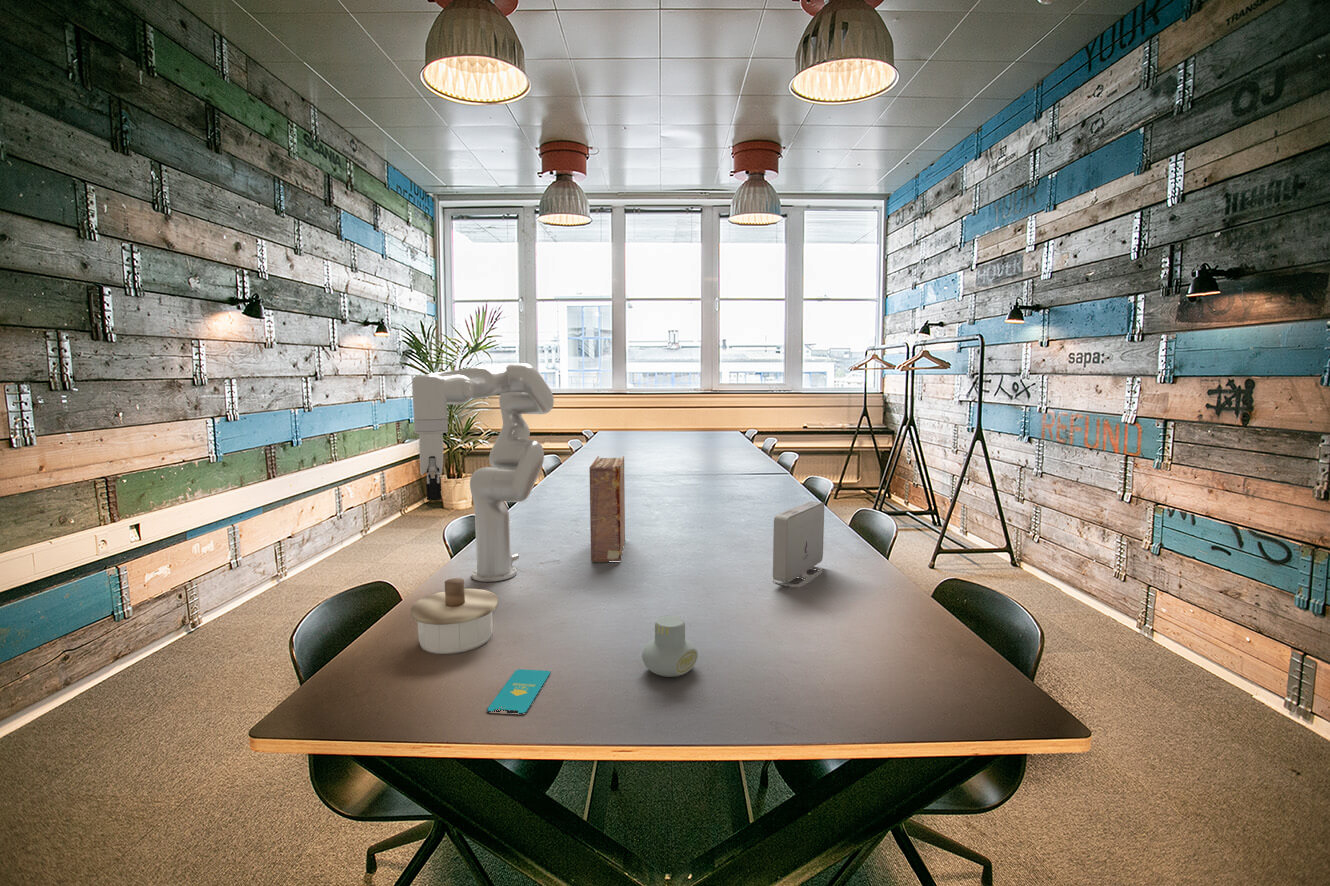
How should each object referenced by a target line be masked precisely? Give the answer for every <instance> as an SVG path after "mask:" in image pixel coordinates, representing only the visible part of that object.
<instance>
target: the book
mask: <svg viewBox="0 0 1330 886" xmlns="http://www.w3.org/2000/svg"><path fill="white" fill-rule="evenodd" d="M625 486H626V485H625V456H624V455H623V456H622V457H600V456H598V455H597V457H596V458H595V460H594V461H593V462H592V463H591V465H590V466H589V510H590V511H589V513H590V514H589V516H590V517H589V522H590V523H589V524H590V563H591V562H609V561H621V562H622V558H621V556H622V557H623V553H622V551H624V548H623V546H624V547H625V544H624V541H625V542H626V513H625V512H626V508H625V507H626V504H625V501H626V499H625V498H626V497H625V495H626V494H625Z"/></svg>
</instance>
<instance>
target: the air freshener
mask: <svg viewBox="0 0 1330 886" xmlns="http://www.w3.org/2000/svg"><path fill="white" fill-rule="evenodd" d="M698 657H699V653H698V650H697V648H696V646H695V644H693V643H692V642H691V641H690V640H689V639H687V638H686V622H685V620H684V619H683V618H681V617H680V616H676V615H666V616H665V615H664V616H661V617H659V618H657V619H656V620H655V622H654V638H653V639H651V640H650V641H649V642H648V643H646V645H645V647H644V648H643V649H642V653H641V659H642V662H643V665H644V666H645V667H646V669H647V670H649V671H650V672H652V673H653V674H655V675H658V676H661V677H667V678H674V677H676V678H677V677H680V675H681V676H682V675H685V674H688V672H690V671H691V670H692V669H693V667H695V665H696V663H697V661H698Z"/></svg>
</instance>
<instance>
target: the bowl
mask: <svg viewBox="0 0 1330 886" xmlns="http://www.w3.org/2000/svg"><path fill="white" fill-rule="evenodd" d="M493 629H494V628H493V611H492V612H491V613H489V614H487V615H485V616H483V617H481V618H478V619H475V620H472V621H467V622H463V623H457V624H447V625H433V624H425V623H421V622H418V621H417V637H418V642H419V646H420V648H421V649H422V651H425V652H426V653H430V654H435V655H451V654H452V655H453V654H460V653H465V652H469V651H472V650H475V649H477V648H479V647H482V646H483V645H485V644H486V643H488V642H489V640H491V638H492V636H493Z"/></svg>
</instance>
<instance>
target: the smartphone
mask: <svg viewBox="0 0 1330 886" xmlns="http://www.w3.org/2000/svg"><path fill="white" fill-rule="evenodd" d="M551 672H552V671H550V670H542V669H540V670H539V669H526V668H525V669H523V668H522V669H521V668H519V669H516V670H514V672H513V673H512V674H511V676H510V677H509V679H508V680H507V681H506V683H505V684H504V685H503V687H502V688H501V689H500V691H499V692H498V693H497V694H496V696H495V697H494V699H493V700H492V702H491V703H490V704H489V706H488V707H487V708H486V712H487V711H488V712H491V711H492V712H493V711H494V712H495V710H496V709H497V710H498V709H500V711H501V710H503V711H504V710H505V711H507V713H519V714H523V713H526V712H527V711H528V709H529V707H530V706H531V704H532V703H533V701H534V700H535V698H536V696H537V695H538V696H539V694H540V693H539V692H541V691H542V689H543V688H544V686H545V684H546V683H547V681H548V680H547V678H548V677H549V678H550V676H551V675H550V673H551ZM551 674H552V673H551ZM549 675H550V676H549ZM549 678H548V679H549ZM546 680H547V681H546ZM545 682H546V683H545ZM544 683H545V684H544ZM543 685H544V686H543ZM542 687H543V688H542ZM541 688H542V689H541ZM540 690H541V691H540ZM538 693H539V694H538ZM538 696H537V697H538ZM536 699H537V698H536ZM535 701H536V700H535ZM535 701H534V702H535ZM533 704H534V703H533ZM501 706H502V708H503V709H502V708H501ZM499 707H500V708H499ZM504 707H505V708H504ZM531 707H532V706H531ZM531 707H530V708H531ZM497 710H496V712H500V711H499V710H498V711H497ZM509 710H510V711H509ZM514 710H515V711H514ZM529 710H530V709H529ZM528 712H529V711H528ZM528 712H527V713H528Z"/></svg>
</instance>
